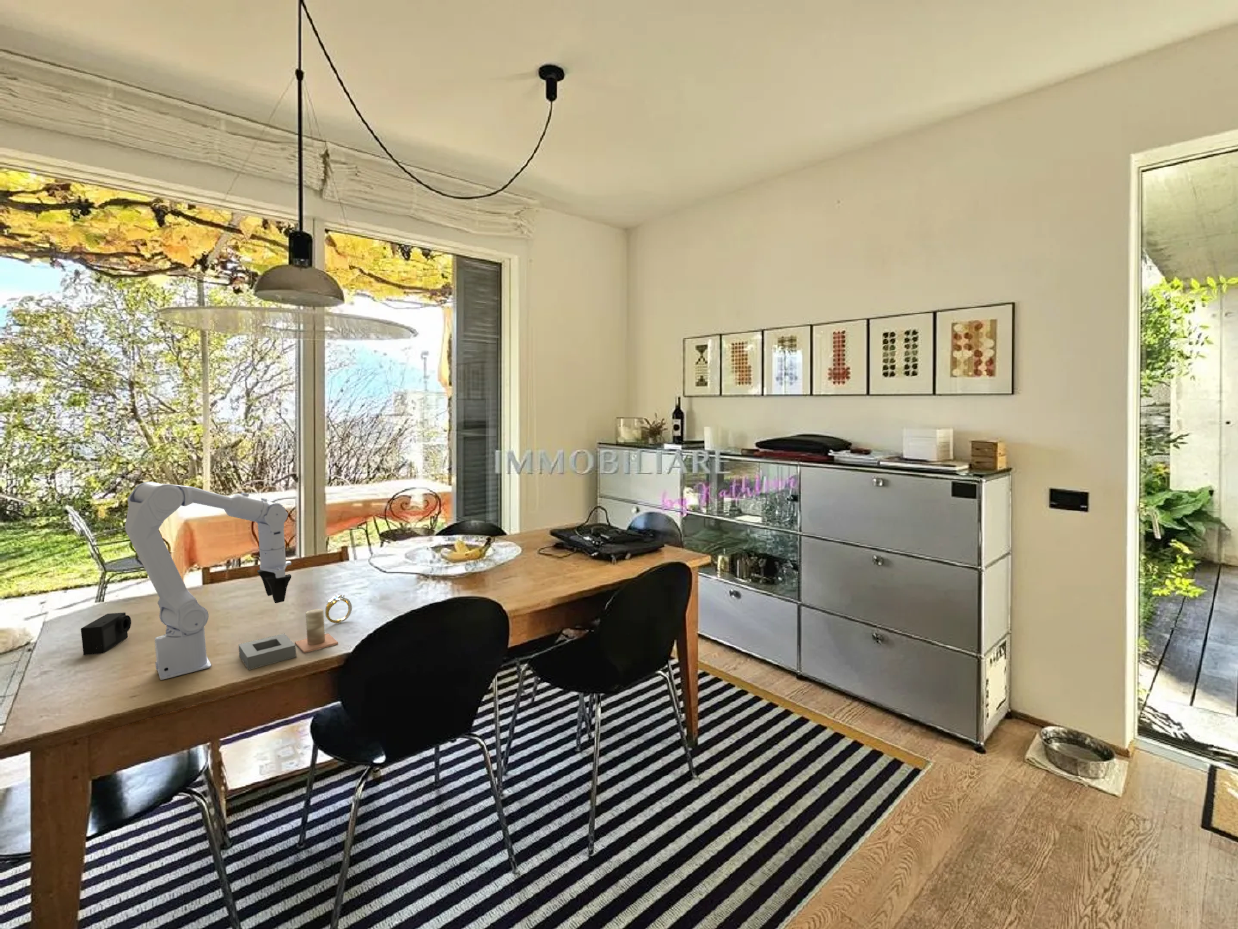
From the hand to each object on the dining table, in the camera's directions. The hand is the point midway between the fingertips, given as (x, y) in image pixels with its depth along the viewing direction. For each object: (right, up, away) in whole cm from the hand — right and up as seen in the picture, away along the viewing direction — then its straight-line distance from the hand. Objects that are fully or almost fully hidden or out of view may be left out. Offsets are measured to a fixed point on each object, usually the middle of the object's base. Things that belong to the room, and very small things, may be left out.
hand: (275, 598), depth 153 cm
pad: (+13, -11, -4) cm, 17 cm away
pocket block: (+4, -12, -11) cm, 17 cm away
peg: (+13, -10, -4) cm, 17 cm away
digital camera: (-40, -11, -4) cm, 42 cm away
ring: (+12, -10, +11) cm, 18 cm away
